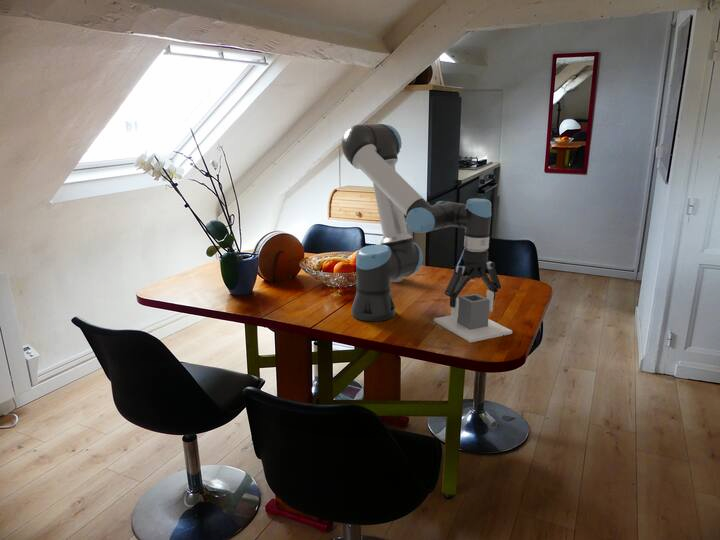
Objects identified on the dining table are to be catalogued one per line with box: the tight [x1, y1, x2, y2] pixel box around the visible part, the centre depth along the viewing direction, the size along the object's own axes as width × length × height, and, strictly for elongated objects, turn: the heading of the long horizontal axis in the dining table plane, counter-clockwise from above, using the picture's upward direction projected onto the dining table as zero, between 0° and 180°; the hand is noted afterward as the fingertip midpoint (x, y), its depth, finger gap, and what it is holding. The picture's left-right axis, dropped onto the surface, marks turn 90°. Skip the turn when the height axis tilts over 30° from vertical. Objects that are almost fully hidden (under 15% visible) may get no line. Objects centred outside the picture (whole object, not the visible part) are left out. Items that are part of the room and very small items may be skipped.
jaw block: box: [457, 293, 490, 330], centre depth 176 cm, size 7×7×9 cm
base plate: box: [433, 314, 513, 344], centre depth 177 cm, size 16×20×7 cm
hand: (471, 313), depth 176 cm, fingers open, 13 cm apart
